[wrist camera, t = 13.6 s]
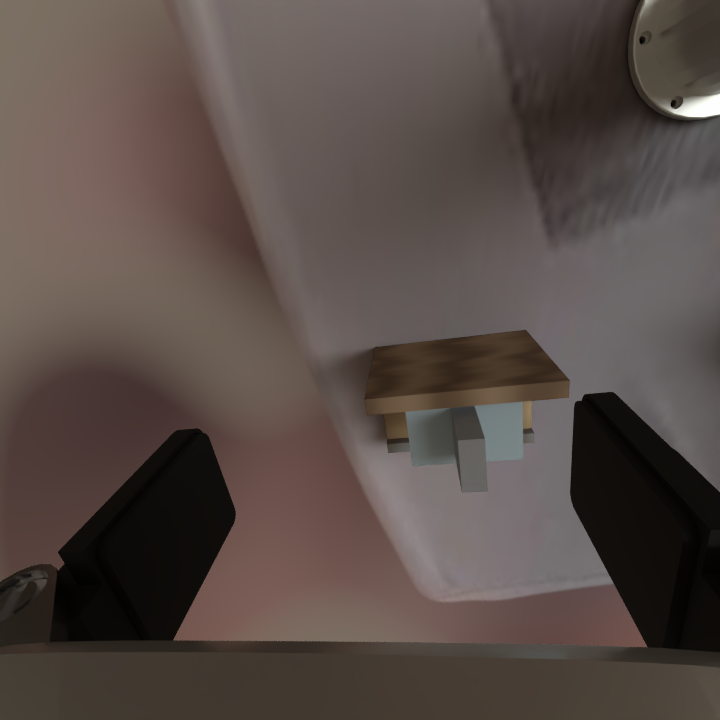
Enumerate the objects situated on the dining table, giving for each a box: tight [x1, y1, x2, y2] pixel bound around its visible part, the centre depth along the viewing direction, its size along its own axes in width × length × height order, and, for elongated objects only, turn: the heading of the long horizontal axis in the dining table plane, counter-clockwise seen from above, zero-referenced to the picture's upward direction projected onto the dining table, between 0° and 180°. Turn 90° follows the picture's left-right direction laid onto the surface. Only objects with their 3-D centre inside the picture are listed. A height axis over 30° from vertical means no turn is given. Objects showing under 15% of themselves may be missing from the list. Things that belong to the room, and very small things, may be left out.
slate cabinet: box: [405, 402, 523, 493], centre depth 36 cm, size 10×7×13 cm
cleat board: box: [364, 330, 570, 453], centre depth 39 cm, size 16×12×12 cm
